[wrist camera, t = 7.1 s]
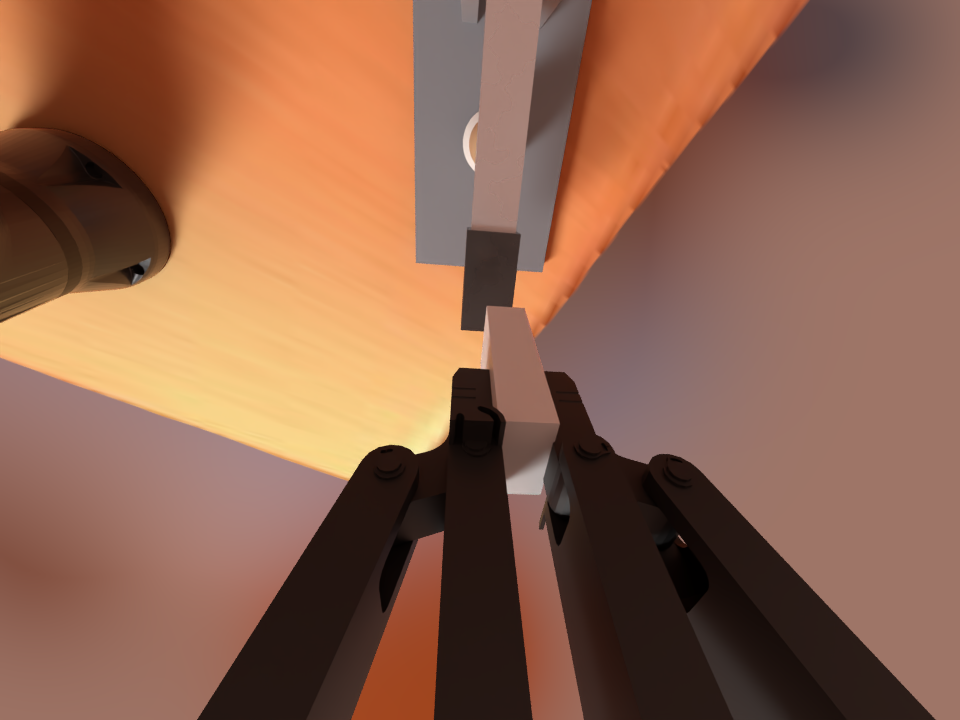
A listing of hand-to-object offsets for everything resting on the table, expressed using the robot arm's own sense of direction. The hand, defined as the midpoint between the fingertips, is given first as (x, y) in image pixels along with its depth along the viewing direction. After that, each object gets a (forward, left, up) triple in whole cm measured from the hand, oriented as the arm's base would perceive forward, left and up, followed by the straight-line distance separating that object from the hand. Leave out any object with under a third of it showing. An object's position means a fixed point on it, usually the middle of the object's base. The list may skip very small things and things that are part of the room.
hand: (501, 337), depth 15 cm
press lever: (0, +5, -15) cm, 16 cm away
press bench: (0, +7, -28) cm, 29 cm away
